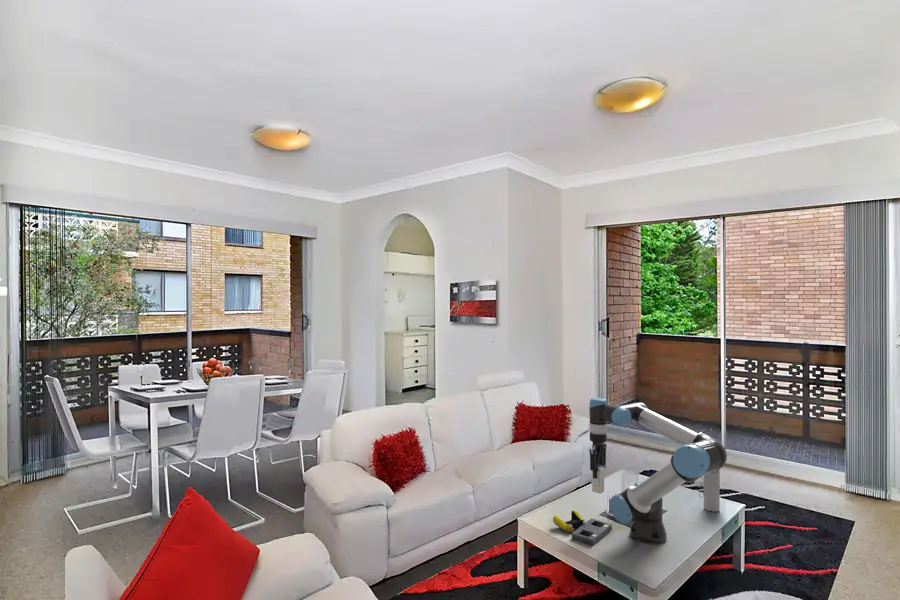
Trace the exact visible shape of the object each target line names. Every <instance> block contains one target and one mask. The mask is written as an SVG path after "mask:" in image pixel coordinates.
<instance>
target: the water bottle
mask: <svg viewBox="0 0 900 600" xmlns="http://www.w3.org/2000/svg"><path fill="white" fill-rule="evenodd" d="M720 471H721V468H720V469H718V470H715V471H712V472H709V473H707V474H705V475H703V476H702V477H700V479H701V482H700V483H699V487H701V485H702V483H703V495H702V496H701V490H699V492H698V493H699V498H700V499H703V508H704V510H706V511H709V512H711V511H712V513H713V512H716V513H717V512H719V511H720V509H721V508H720V502H721V501H720V500H721V499H720V493H721V492H720V491H721V490H720V488H721V487H720V484H721V483H720V473H721V472H720Z"/></svg>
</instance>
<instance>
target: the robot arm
mask: <svg viewBox="0 0 900 600" xmlns="http://www.w3.org/2000/svg"><path fill="white" fill-rule="evenodd" d="M588 409H589V423H588V426H589V441H590V442H592V444H591V445H592V447H591V448H589V469H590V471H591V472H592V471H593V485H597V486H599V471H598V465H602V467H604V469H606V467H607V465H606V464H607V443H606V442H607V440H608V439H607V431H608V428H607V427H608V425H607V424H608V423H609V424H612V425H616V426H622V427H626V426H628V425H629V424H630V423H631V422H635V423H638V424H639V425H642V426H643V427H645V428H646V429H649V430H651V431H652V432H655V433H656V434H659V435H660V436H663V437H664V438H666V439H668V440H670V441H672V442H674V443H676V444H677V445H680V447H678V448H677V449H675V451H674V452H673V455H672V456H670V462H669V463H668V464H667V465H666V464H665V466H663V467H662V468H661V469H659V470H657V471H656V472H655V473H653V474H652V475H651V476H649V477H648V478H647V479H645V480H644V481H636V482H635V483H634V485H630V486H629V487H627V488H626V489H625V490H623V491H622V492H620V493H618V494H616V493H615V494H614V495H613V496H612V497H611V498H610V499H609V510H610V512H611V514H612V516H613V517H614V519H615V520H617V522H620V523H621V524H630V523H631V525H630V534H629V535H630V536H631V538H633V539H634V540H636V541H638V542H641V543H643V544H648V545H659V544H664V543H665V542H667V538H668V536H667V531H666V527H665V524H664V522H663V498H664V497H665V496H667V495H668V494H670V493H672V492H673V491H674V490H675V489H677V488H678V487H680V486H681V485H684V483H694V482H696V481H697V480H698V479H701V477H702V476H703V477H704V475H705V474H707V473H709V472H712V471H715V470H718V469H720V470H721V468H723V467H724V466H725V465H726V462H727V460H728V459H727V458H728V455H727V451H726V448H725V447H724V445H723V444H722V443H721V442H720V441H719V440H717V439H716V438H714V437H712V436H710V435H708V434H706V433H705V432H699V433H698V432H696V431H694V430H692V429H690V428H687V427H685V426H684V425H682V424H679V423H677V422H675V421H673V420H672V419H669V418H667V417H665V416H663V415H661V414H659V413H657V412H655V411H652V410H650V409H649V408H648V406H647V405H646V404H645V403H644V402H633V403H632V402H631V403H628V404H621V405H617V406H616V405H611V404H608V403H607V399H606V398H603V397H592V398H590V400H589V407H588Z"/></svg>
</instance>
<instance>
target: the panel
mask: <svg viewBox="0 0 900 600" xmlns="http://www.w3.org/2000/svg"><path fill="white" fill-rule="evenodd" d="M611 531H613V524H612V523H609V522H606V521H603V520H598V519H596V518H590V519H588V520H587V521H585V524H583V525H582V526H581V527H579V528H578V529H577V530H575V531H574V532H571V540H572V541H573V540H574V541H577V542H580V543H583V544H586V545H589V546H592V547H593V546H595V545H596V544H597V543H598V542H599V541H600V540H601V539H604V538H605V536H606V535H608V534H609V533H610V532H611Z"/></svg>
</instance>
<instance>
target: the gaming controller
mask: <svg viewBox="0 0 900 600" xmlns="http://www.w3.org/2000/svg"><path fill="white" fill-rule="evenodd" d="M570 515H571V516H570V517H571V519H570V520H567V521H563V520H562V519H561V518H560V517H559V516H557V515H554V516H553V517H552V522H553V523H554V525H555V526H557V527H558V528H559V529H561V530H563V531H564V532H566V533H573V532H574V531H575V530H577V529H578V528H579V527H581V526H582V525H583V524H585V523H586V520H585V519H583V518H582V516H581V514H579V512H578V511H577V510H575V509H574V510H571V514H570Z"/></svg>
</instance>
